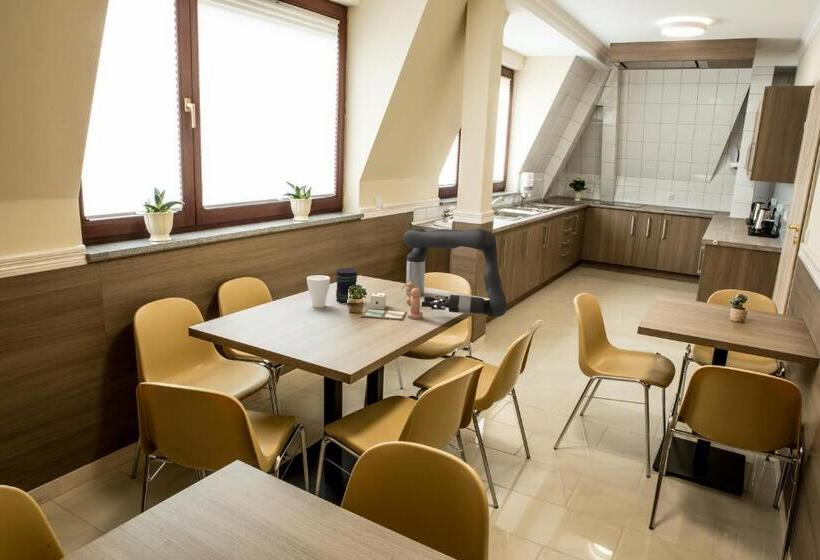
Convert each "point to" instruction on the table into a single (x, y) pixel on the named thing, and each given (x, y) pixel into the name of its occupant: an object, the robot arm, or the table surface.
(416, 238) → the robot arm
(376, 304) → the die
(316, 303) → the cup
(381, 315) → the game board
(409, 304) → the figurine
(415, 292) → the pawn
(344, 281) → the storage jar
